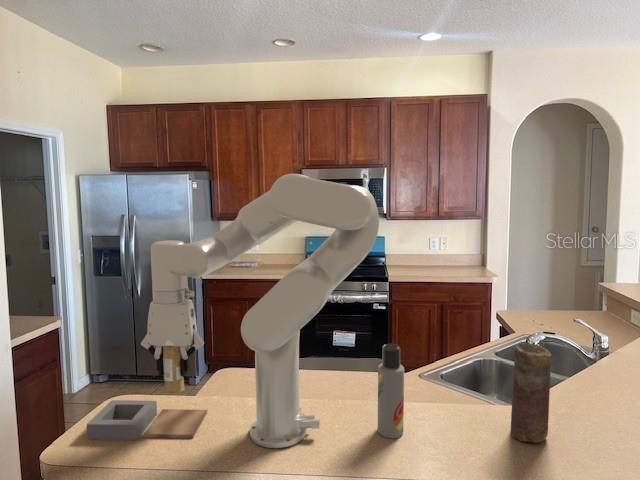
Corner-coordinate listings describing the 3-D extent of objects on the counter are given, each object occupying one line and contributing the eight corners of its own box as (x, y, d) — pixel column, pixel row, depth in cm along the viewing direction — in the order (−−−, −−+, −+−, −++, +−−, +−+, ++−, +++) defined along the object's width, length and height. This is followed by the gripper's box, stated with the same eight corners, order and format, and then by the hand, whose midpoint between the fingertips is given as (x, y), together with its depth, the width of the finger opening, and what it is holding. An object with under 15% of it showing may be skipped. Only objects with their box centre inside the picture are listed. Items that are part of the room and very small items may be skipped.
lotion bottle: (408, 431, 100) (409, 345, 98) (394, 442, 96) (395, 352, 94) (387, 422, 104) (388, 339, 102) (372, 432, 100) (373, 345, 98)
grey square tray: (157, 414, 109) (156, 400, 108) (137, 440, 98) (136, 424, 97) (112, 413, 109) (111, 400, 109) (87, 439, 98) (86, 424, 98)
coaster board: (207, 412, 109) (207, 409, 109) (193, 438, 98) (192, 434, 98) (162, 412, 110) (162, 409, 109) (143, 437, 99) (143, 434, 99)
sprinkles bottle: (187, 392, 102) (185, 335, 101) (166, 397, 100) (164, 339, 98) (181, 384, 106) (179, 330, 104) (161, 389, 104) (159, 333, 102)
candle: (518, 423, 103) (522, 339, 101) (552, 435, 98) (557, 347, 96) (504, 436, 98) (508, 348, 96) (539, 450, 93) (544, 357, 90)
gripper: (212, 292, 104) (214, 367, 106) (140, 291, 104) (144, 366, 106) (202, 300, 96) (205, 381, 98) (125, 299, 97) (130, 380, 99)
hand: (173, 373), depth 102 cm, fingers closed on sprinkles bottle, 4 cm apart
